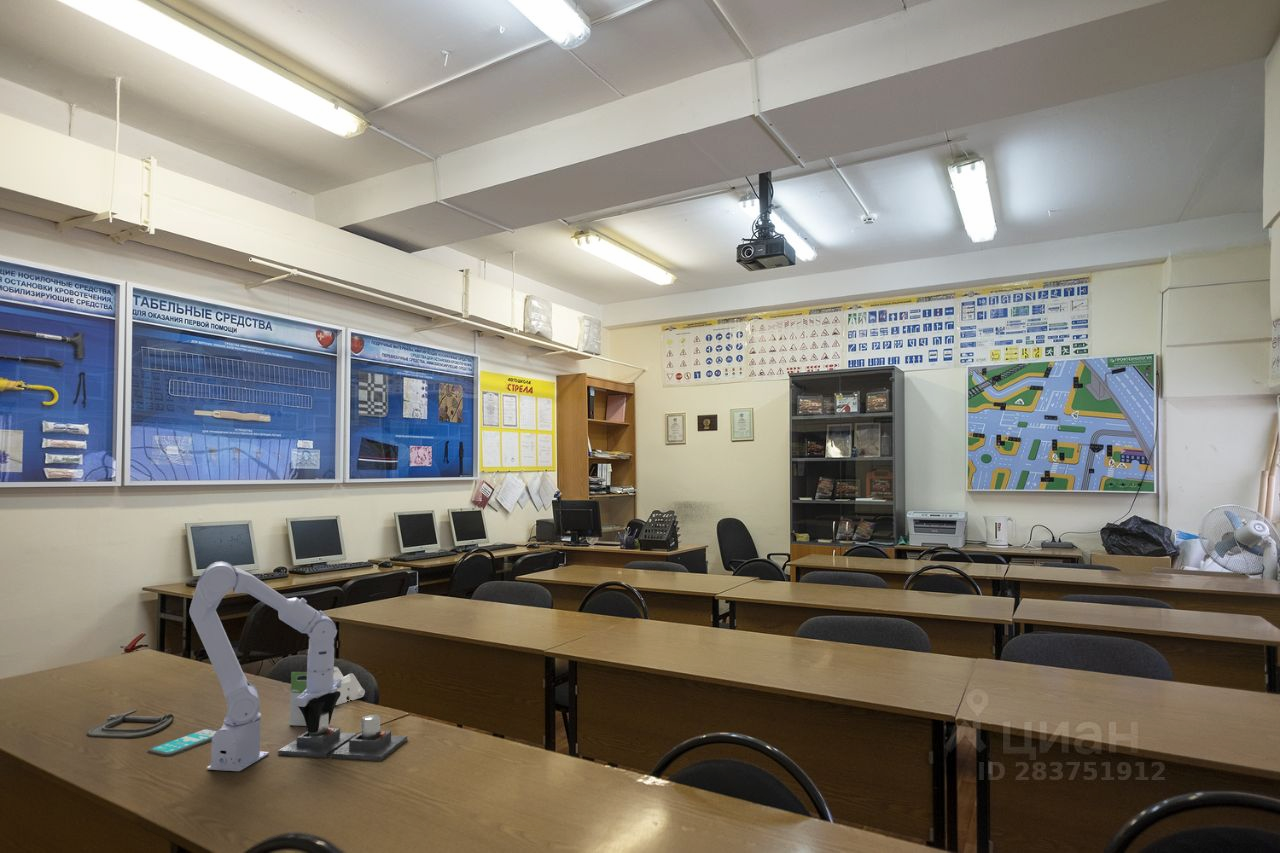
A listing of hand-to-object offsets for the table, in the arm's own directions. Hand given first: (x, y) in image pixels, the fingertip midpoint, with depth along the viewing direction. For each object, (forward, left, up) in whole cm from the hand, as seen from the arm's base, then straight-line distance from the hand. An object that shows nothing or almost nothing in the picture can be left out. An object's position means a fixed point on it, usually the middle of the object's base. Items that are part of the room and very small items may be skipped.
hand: (318, 728), depth 160 cm
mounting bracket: (+31, +15, -4) cm, 35 cm away
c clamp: (+6, +55, -5) cm, 55 cm away
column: (0, -13, -3) cm, 13 cm away
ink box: (+13, +12, -4) cm, 18 cm away
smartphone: (-2, +32, -5) cm, 32 cm away
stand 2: (0, -13, -4) cm, 14 cm away
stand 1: (0, 0, -4) cm, 4 cm away
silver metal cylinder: (0, 0, -3) cm, 3 cm away
